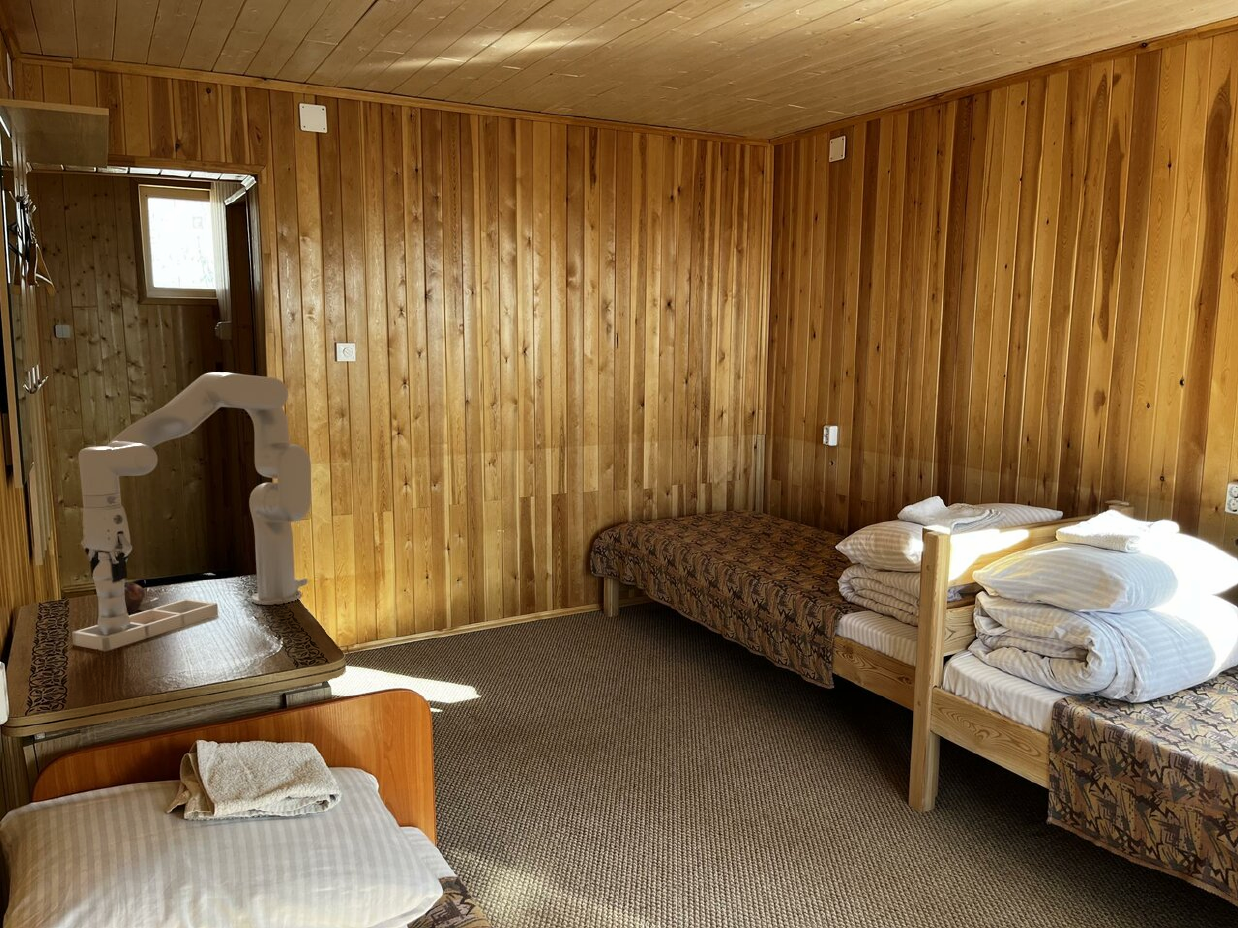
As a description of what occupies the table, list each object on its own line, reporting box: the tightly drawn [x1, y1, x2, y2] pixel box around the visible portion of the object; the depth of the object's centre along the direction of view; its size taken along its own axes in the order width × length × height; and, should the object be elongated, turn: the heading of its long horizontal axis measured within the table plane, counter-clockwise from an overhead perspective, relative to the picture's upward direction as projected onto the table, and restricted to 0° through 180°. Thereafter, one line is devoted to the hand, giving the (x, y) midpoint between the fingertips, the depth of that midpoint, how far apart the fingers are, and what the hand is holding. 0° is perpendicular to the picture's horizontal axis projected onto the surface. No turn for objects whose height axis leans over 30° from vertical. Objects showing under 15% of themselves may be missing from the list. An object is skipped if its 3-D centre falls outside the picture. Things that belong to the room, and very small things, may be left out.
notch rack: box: [71, 598, 219, 652], centre depth 222 cm, size 31×11×3 cm, turn 156°
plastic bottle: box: [93, 551, 130, 636], centre depth 213 cm, size 6×7×20 cm
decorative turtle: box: [124, 581, 146, 615], centre depth 237 cm, size 10×15×8 cm, turn 27°
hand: (109, 577), depth 212 cm, fingers closed on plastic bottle, 6 cm apart
